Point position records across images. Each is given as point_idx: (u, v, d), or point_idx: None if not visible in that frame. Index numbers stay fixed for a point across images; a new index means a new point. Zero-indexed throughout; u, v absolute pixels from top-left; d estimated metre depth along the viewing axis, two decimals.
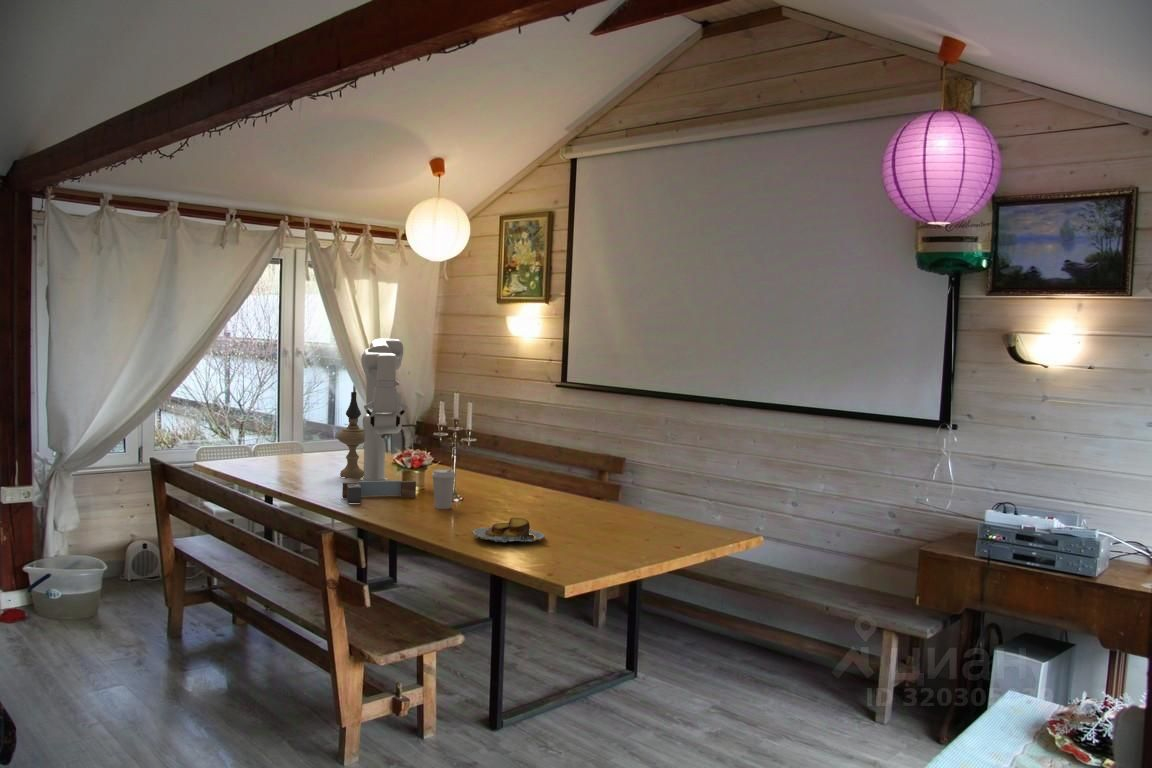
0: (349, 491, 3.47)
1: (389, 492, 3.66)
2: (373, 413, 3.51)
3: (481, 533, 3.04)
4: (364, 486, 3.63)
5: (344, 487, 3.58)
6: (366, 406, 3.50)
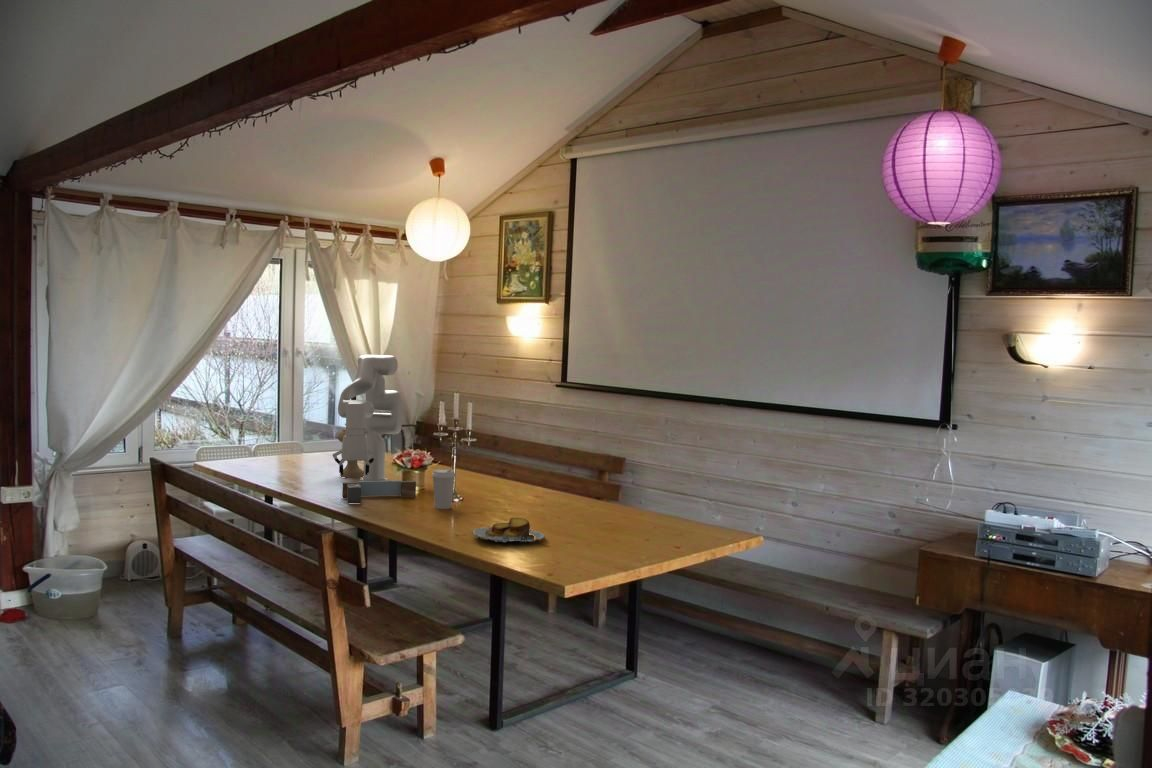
0: (349, 491, 3.47)
1: (389, 492, 3.66)
2: (342, 462, 3.47)
3: (481, 533, 3.04)
4: (364, 486, 3.63)
5: (344, 487, 3.58)
6: (335, 454, 3.47)
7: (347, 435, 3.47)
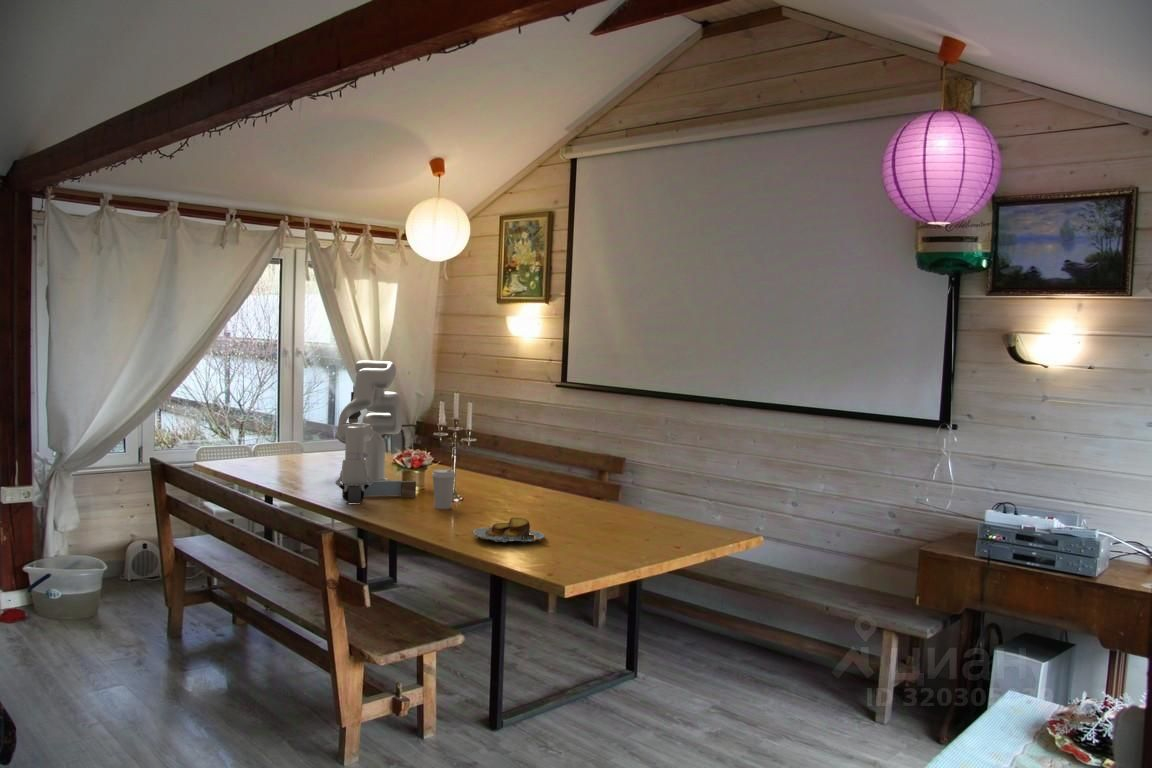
0: (349, 491, 3.47)
1: (389, 492, 3.66)
2: (345, 487, 3.49)
3: (481, 533, 3.04)
4: None
5: None
6: (337, 482, 3.48)
7: (347, 459, 3.47)
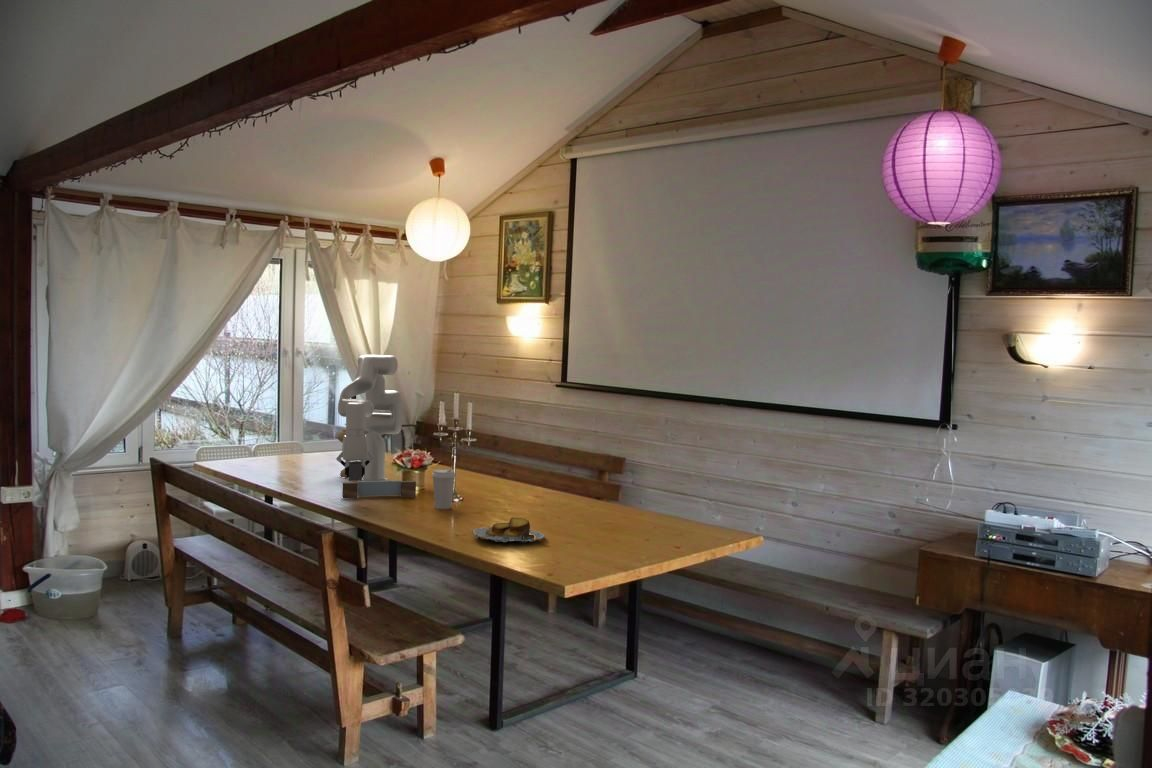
0: (350, 467, 3.47)
1: (389, 492, 3.66)
2: (346, 463, 3.49)
3: (481, 533, 3.04)
4: (364, 486, 3.63)
5: (344, 487, 3.58)
6: (338, 458, 3.48)
7: (347, 435, 3.47)
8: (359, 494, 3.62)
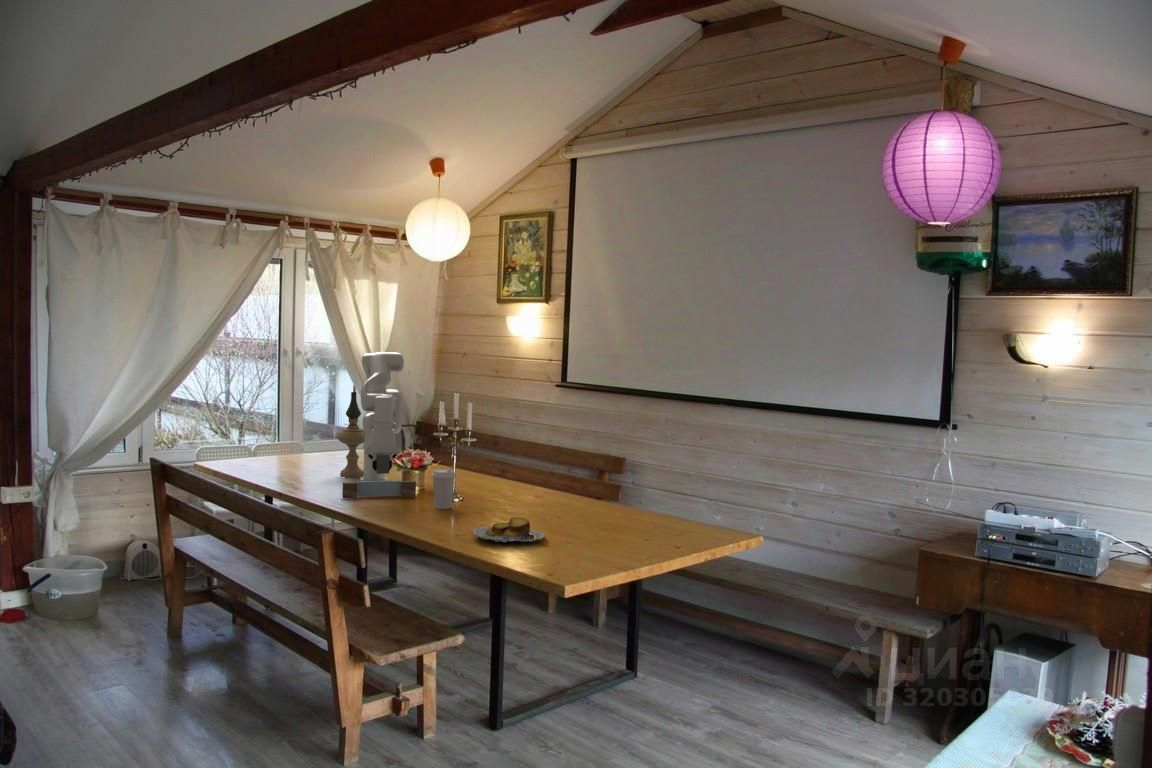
0: (378, 460, 3.50)
1: (389, 492, 3.66)
2: (374, 457, 3.52)
3: (481, 533, 3.04)
4: (364, 486, 3.63)
5: (344, 487, 3.58)
6: (366, 451, 3.51)
7: (375, 428, 3.50)
8: (359, 494, 3.62)
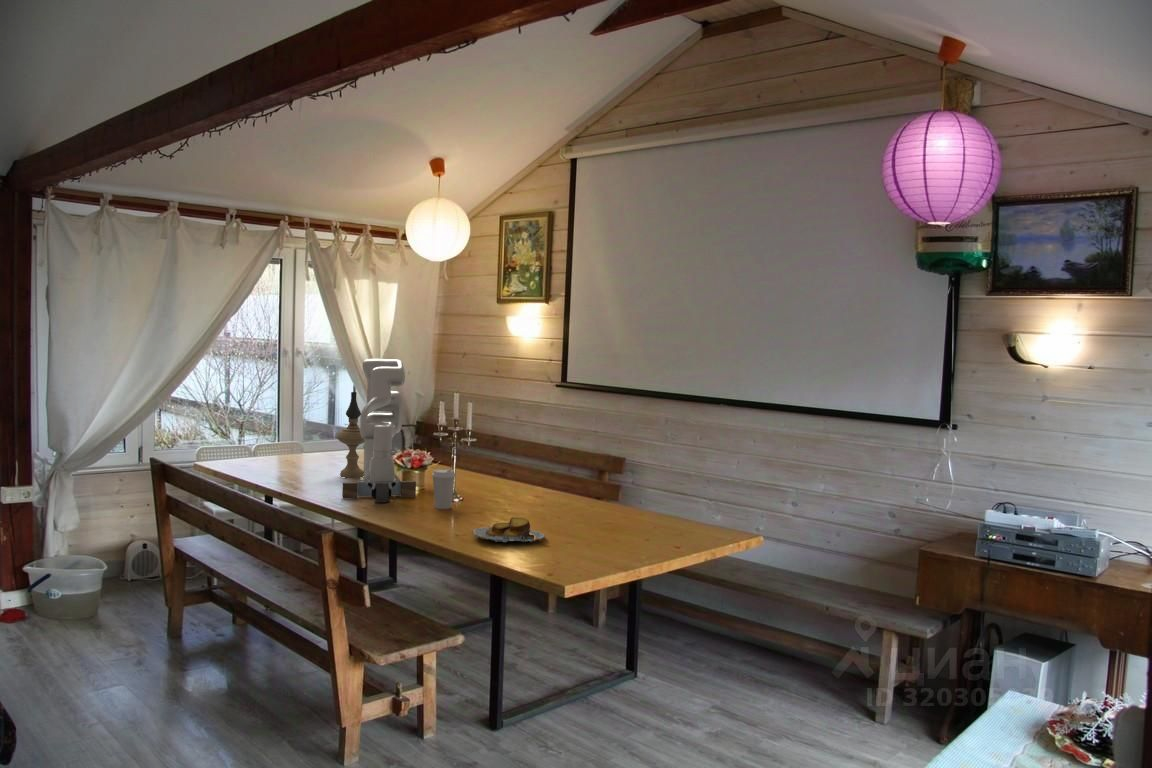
0: (377, 489, 3.51)
1: None
2: (373, 485, 3.53)
3: (481, 533, 3.04)
4: (364, 486, 3.63)
5: (344, 487, 3.58)
6: (365, 480, 3.52)
7: (375, 457, 3.51)
8: (359, 494, 3.62)
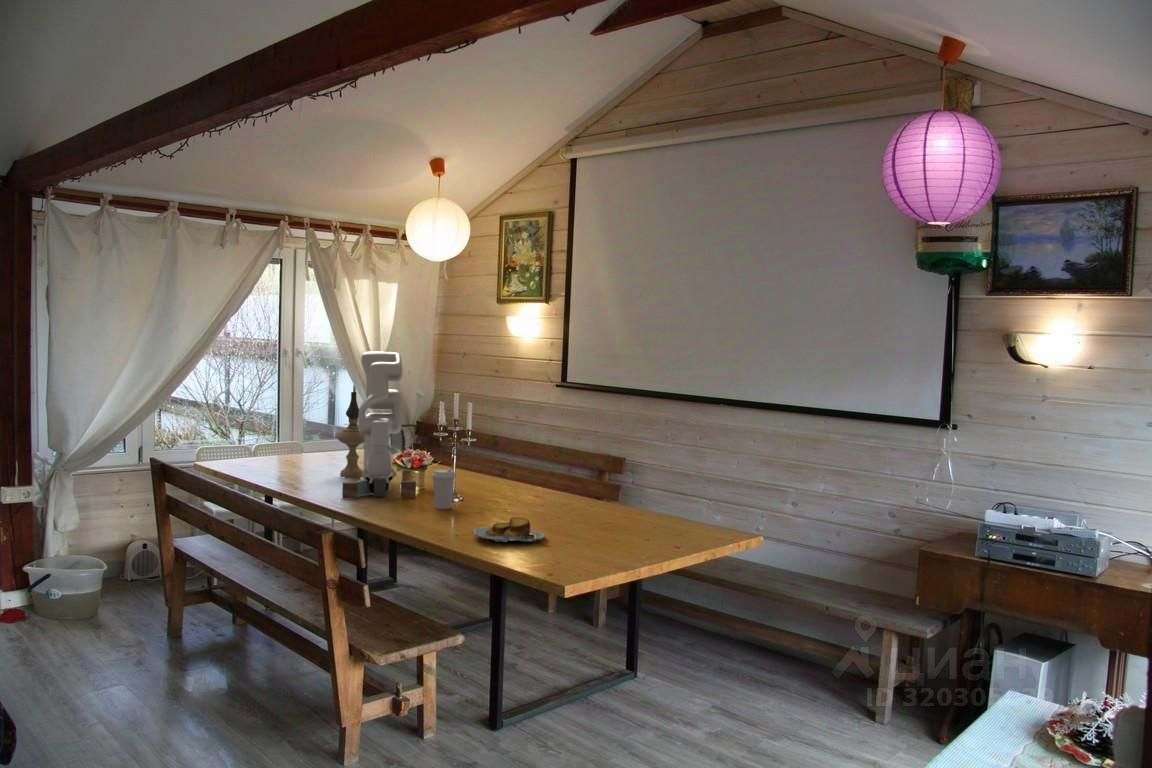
0: (375, 483, 3.62)
1: None
2: (371, 479, 3.64)
3: (482, 533, 3.05)
4: (362, 485, 3.64)
5: (344, 487, 3.58)
6: (363, 474, 3.64)
7: (372, 452, 3.63)
8: (358, 494, 3.63)
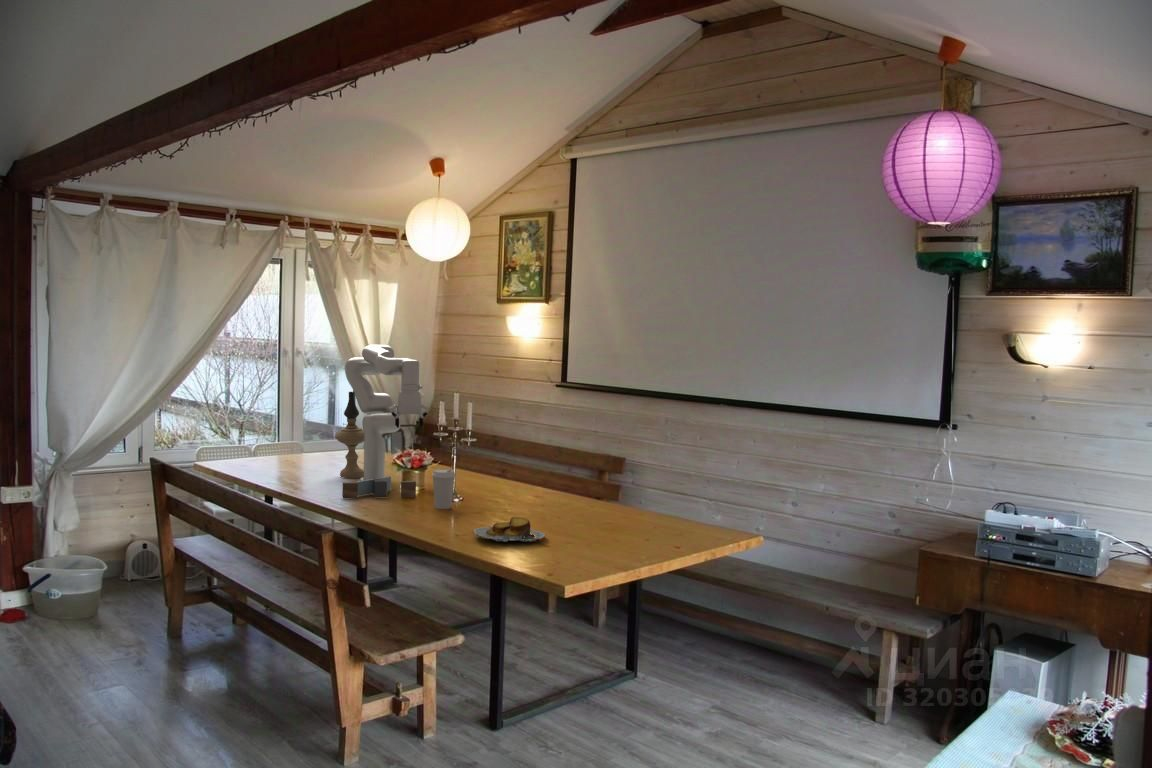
0: (375, 485, 3.62)
1: None
2: (398, 415, 3.73)
3: (482, 532, 3.05)
4: (363, 485, 3.64)
5: (344, 487, 3.58)
6: (391, 408, 3.72)
7: (403, 390, 3.72)
8: (358, 494, 3.63)
